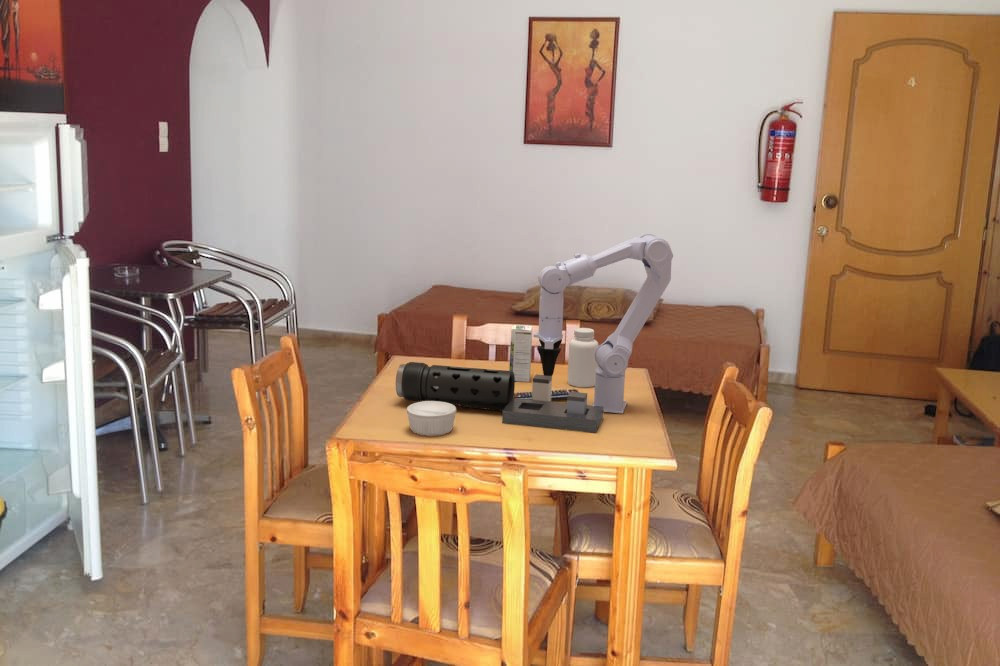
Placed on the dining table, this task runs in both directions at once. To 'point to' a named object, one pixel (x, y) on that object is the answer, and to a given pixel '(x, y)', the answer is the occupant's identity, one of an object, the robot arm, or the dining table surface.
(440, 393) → the muzzle brake
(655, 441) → the dining table surface
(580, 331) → the pill bottle
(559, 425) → the block
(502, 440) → the dining table surface
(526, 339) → the syrup box
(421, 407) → the ramekin
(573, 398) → the twin plug
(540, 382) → the plug
